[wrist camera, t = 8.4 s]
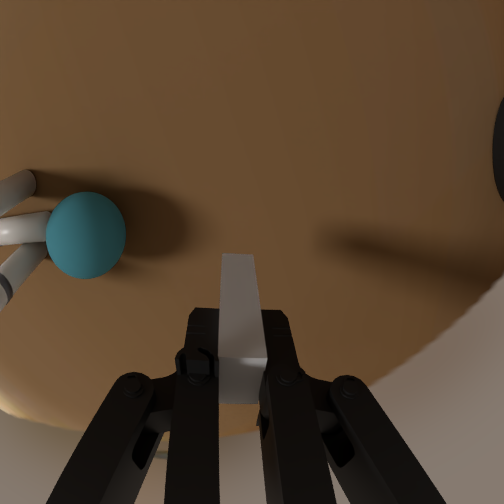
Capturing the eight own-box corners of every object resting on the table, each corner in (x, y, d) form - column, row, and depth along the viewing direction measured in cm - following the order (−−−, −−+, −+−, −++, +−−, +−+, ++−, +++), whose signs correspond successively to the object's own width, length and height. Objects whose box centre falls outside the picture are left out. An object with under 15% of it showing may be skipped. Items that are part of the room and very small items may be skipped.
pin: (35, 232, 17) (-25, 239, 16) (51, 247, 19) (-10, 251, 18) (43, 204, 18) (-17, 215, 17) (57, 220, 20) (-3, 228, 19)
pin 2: (48, 240, 20) (-4, 297, 13) (47, 263, 21) (0, 323, 14) (28, 231, 20) (-27, 283, 12) (27, 254, 21) (-22, 309, 13)
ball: (34, 208, 17) (101, 186, 20) (56, 282, 18) (119, 256, 22) (38, 203, 12) (127, 177, 16) (68, 301, 14) (149, 266, 18)
